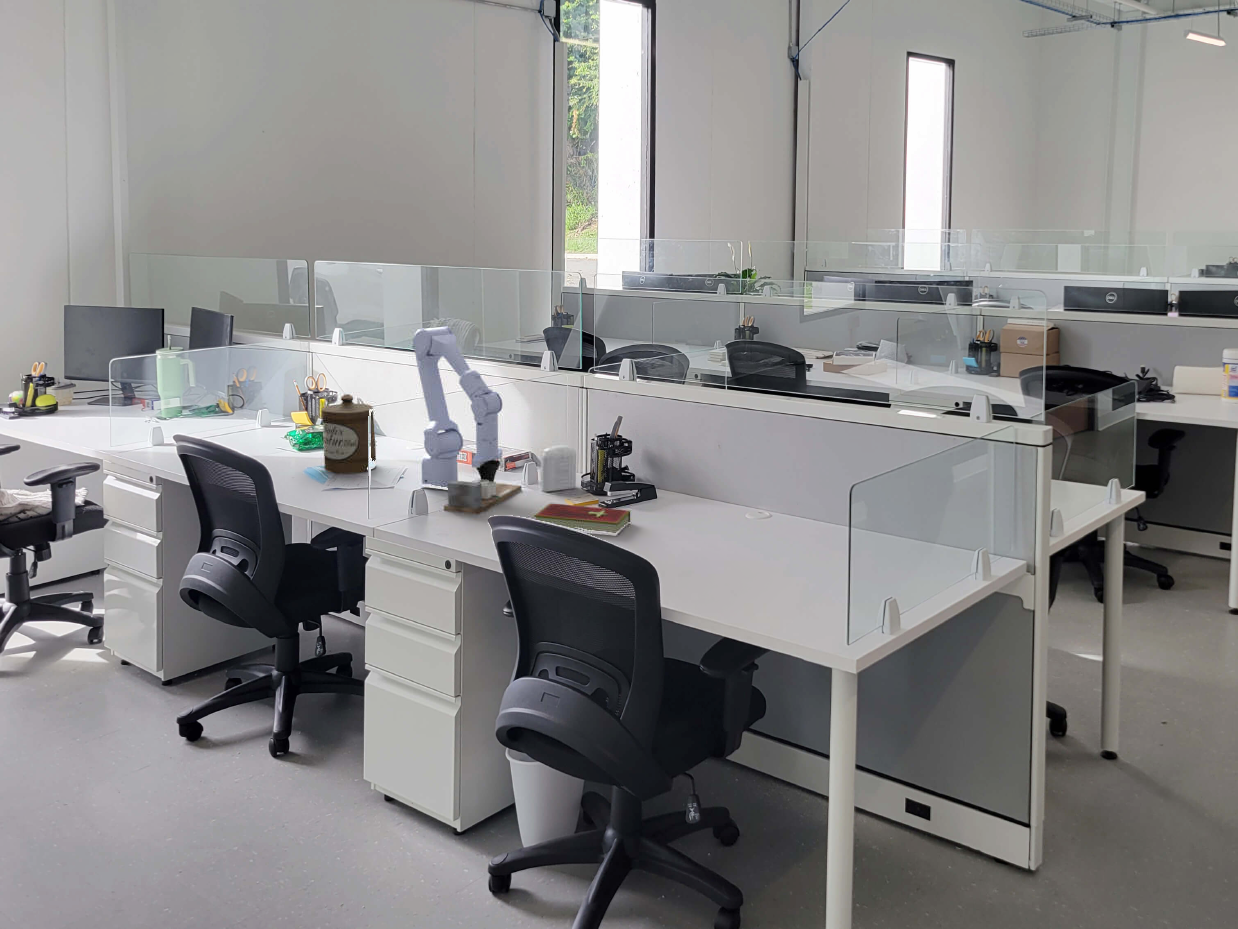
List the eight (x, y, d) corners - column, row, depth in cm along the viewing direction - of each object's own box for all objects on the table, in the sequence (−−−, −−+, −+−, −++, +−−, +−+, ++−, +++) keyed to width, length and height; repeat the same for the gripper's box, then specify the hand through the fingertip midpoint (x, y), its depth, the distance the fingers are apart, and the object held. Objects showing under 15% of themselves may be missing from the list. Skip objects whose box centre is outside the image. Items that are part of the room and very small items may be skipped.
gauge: (461, 499, 282) (461, 484, 281) (475, 492, 289) (475, 477, 288) (488, 502, 279) (488, 487, 278) (502, 495, 286) (501, 480, 285)
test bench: (443, 510, 277) (443, 483, 275) (488, 486, 301) (488, 461, 299) (479, 514, 274) (478, 487, 272) (521, 490, 298) (521, 464, 296)
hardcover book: (550, 517, 274) (550, 501, 273) (630, 525, 268) (630, 509, 267) (534, 530, 263) (534, 514, 262) (617, 539, 257) (617, 522, 256)
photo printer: (570, 485, 304) (570, 442, 301) (578, 488, 301) (578, 445, 298) (538, 489, 298) (538, 446, 296) (546, 493, 295) (546, 449, 292)
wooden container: (314, 469, 317) (310, 395, 312) (349, 459, 329) (346, 388, 324) (352, 476, 310) (348, 400, 305) (386, 466, 322) (384, 393, 317)
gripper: (488, 445, 278) (489, 495, 281) (512, 434, 291) (512, 483, 294) (464, 442, 280) (465, 493, 283) (488, 432, 293) (489, 480, 296)
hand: (487, 487), depth 289 cm, fingers closed
